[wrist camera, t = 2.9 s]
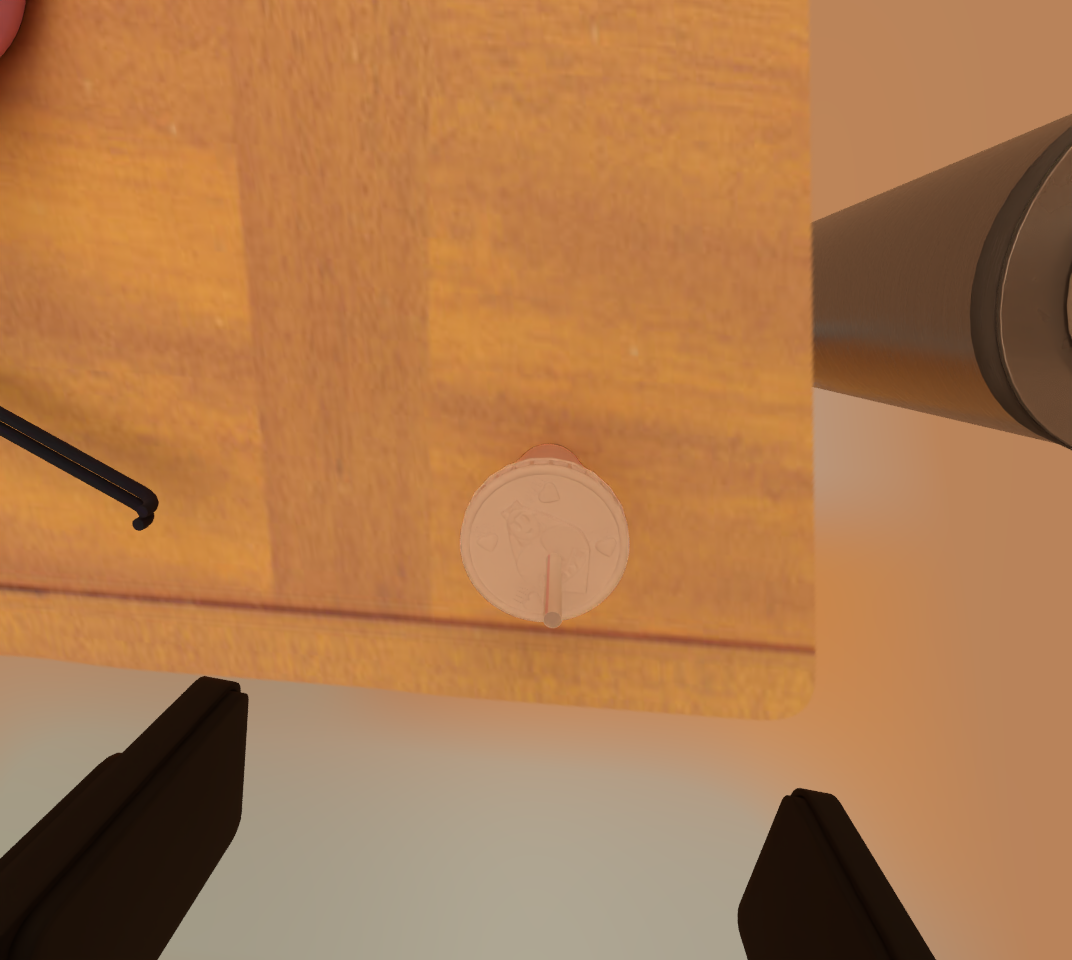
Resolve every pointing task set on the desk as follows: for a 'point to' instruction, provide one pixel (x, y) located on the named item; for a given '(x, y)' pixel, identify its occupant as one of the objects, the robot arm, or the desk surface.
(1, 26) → the teapot
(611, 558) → the smoothie
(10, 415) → the hook tool
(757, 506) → the desk surface
